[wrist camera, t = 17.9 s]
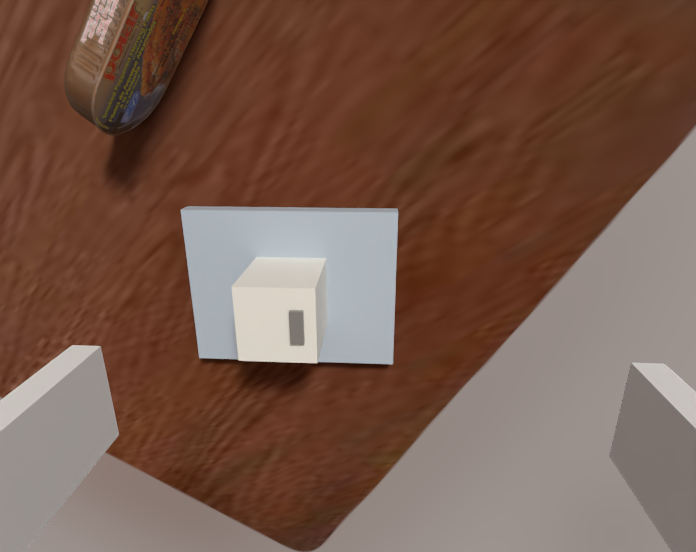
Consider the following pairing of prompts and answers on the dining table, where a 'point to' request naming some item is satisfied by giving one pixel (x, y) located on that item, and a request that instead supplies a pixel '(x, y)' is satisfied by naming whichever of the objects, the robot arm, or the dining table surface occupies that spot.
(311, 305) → the cream box with handle
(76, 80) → the tin
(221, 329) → the panel
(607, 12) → the dining table surface
